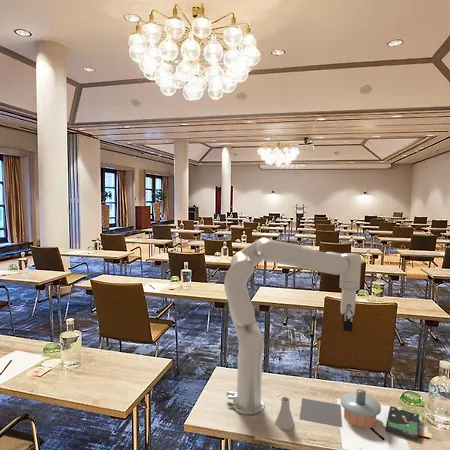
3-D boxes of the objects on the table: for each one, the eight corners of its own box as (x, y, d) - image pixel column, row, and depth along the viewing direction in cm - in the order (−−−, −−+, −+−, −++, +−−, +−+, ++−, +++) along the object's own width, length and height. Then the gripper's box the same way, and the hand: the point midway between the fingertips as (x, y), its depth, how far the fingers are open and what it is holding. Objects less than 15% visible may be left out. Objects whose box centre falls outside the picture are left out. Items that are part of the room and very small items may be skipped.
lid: (341, 412, 128) (342, 397, 128) (339, 392, 141) (340, 379, 141) (383, 419, 124) (384, 404, 124) (377, 399, 138) (378, 385, 137)
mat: (299, 421, 132) (299, 418, 132) (302, 399, 146) (302, 398, 146) (341, 429, 128) (342, 427, 128) (340, 406, 142) (340, 404, 142)
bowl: (344, 426, 129) (345, 410, 129) (343, 410, 140) (344, 395, 140) (377, 432, 126) (378, 416, 126) (373, 415, 137) (374, 400, 137)
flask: (280, 417, 134) (281, 391, 133) (298, 425, 129) (299, 398, 129) (270, 426, 128) (271, 399, 128) (288, 434, 124) (289, 407, 123)
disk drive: (389, 412, 140) (385, 432, 127) (389, 405, 140) (385, 424, 127) (419, 421, 135) (418, 442, 122) (419, 413, 135) (418, 434, 122)
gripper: (339, 279, 150) (336, 319, 151) (340, 288, 134) (337, 333, 135) (358, 281, 148) (355, 321, 149) (361, 290, 131) (358, 335, 132)
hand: (347, 327), depth 142 cm, fingers open, 9 cm apart
